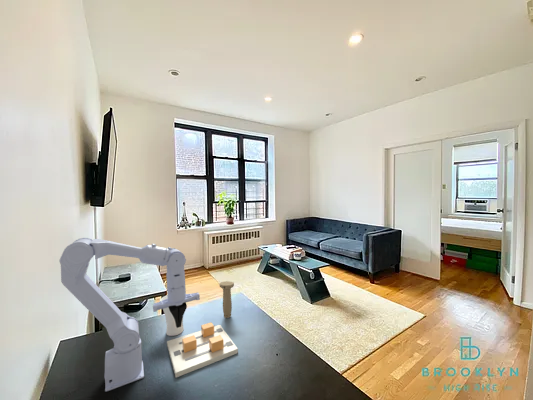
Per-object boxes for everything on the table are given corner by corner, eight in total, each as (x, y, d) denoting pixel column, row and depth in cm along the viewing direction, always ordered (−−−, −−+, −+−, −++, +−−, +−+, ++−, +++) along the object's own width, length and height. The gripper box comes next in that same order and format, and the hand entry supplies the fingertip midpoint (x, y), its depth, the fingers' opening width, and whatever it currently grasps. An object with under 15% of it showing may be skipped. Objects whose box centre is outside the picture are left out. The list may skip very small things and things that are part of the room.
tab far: (203, 337, 84) (203, 329, 84) (201, 333, 87) (201, 325, 87) (214, 333, 86) (214, 325, 86) (211, 329, 89) (211, 322, 89)
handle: (232, 320, 99) (231, 285, 99) (218, 318, 101) (217, 284, 101) (236, 314, 104) (235, 281, 104) (223, 313, 105) (222, 281, 105)
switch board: (175, 377, 67) (175, 372, 67) (167, 345, 83) (167, 341, 83) (237, 352, 78) (237, 348, 78) (220, 328, 93) (219, 324, 93)
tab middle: (184, 352, 76) (184, 343, 76) (182, 347, 79) (182, 338, 79) (196, 348, 78) (196, 339, 78) (194, 343, 81) (194, 335, 81)
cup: (160, 328, 94) (159, 295, 94) (186, 321, 99) (186, 290, 99) (161, 342, 85) (160, 306, 85) (190, 334, 89) (189, 299, 89)
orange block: (212, 352, 76) (211, 343, 76) (209, 347, 78) (209, 338, 78) (223, 348, 78) (223, 339, 78) (220, 343, 80) (220, 334, 80)
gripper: (153, 295, 69) (155, 339, 69) (201, 284, 77) (203, 324, 77) (151, 288, 75) (153, 329, 75) (195, 278, 83) (197, 315, 83)
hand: (178, 326), depth 76 cm, fingers closed
